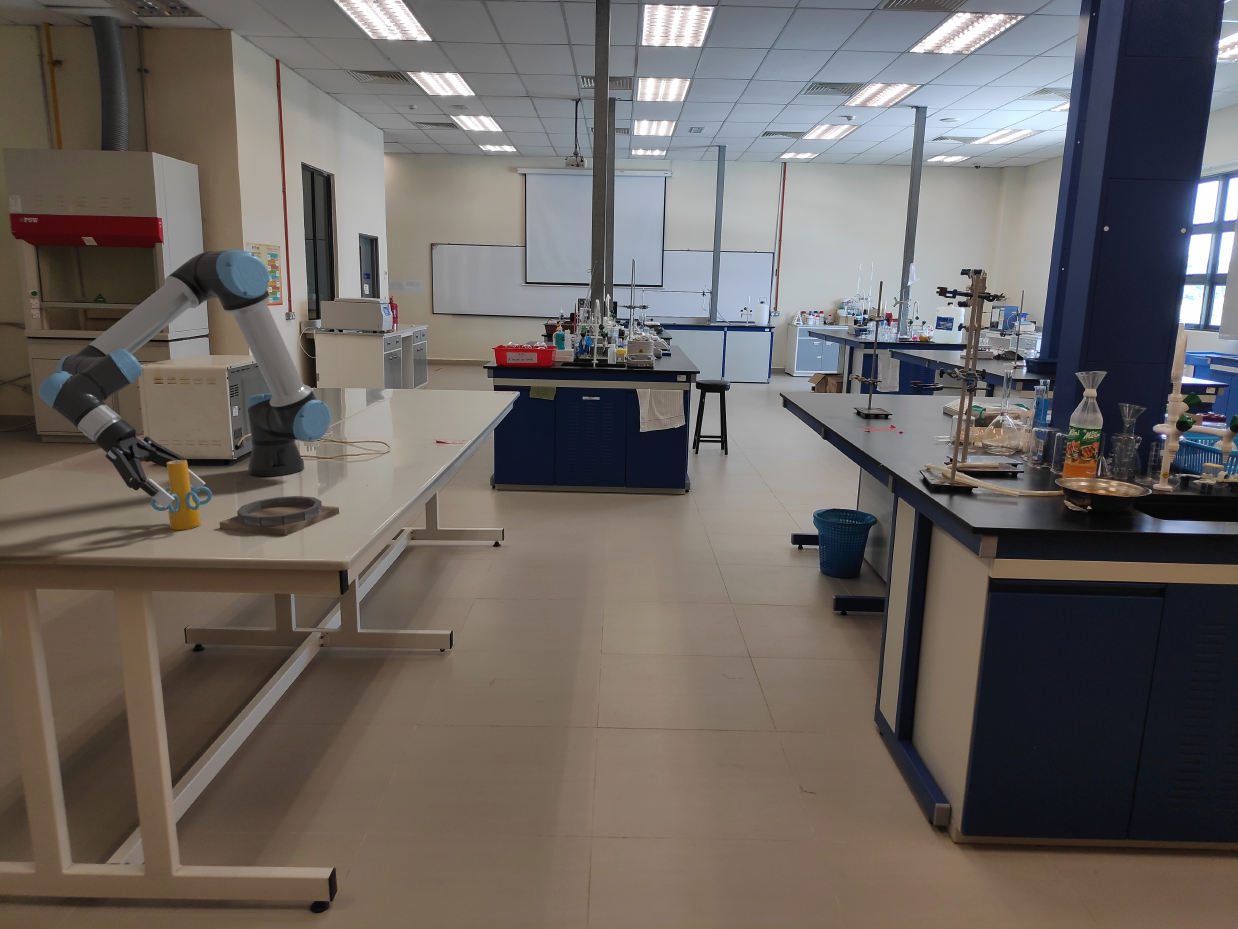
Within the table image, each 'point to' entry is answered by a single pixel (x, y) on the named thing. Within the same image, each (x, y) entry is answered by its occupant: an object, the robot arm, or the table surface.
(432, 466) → the table surface
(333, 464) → the table surface
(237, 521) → the hub board
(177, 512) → the cylinder
